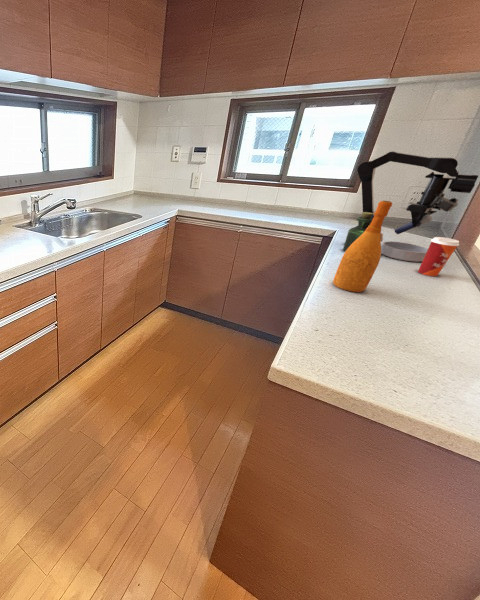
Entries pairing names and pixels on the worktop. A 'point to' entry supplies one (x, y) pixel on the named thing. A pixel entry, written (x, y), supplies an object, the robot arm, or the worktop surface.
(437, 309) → the worktop surface
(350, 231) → the potion bottle
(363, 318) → the worktop surface
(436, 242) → the paper cup
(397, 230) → the rod
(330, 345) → the worktop surface
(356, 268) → the wine bottle
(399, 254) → the dish
